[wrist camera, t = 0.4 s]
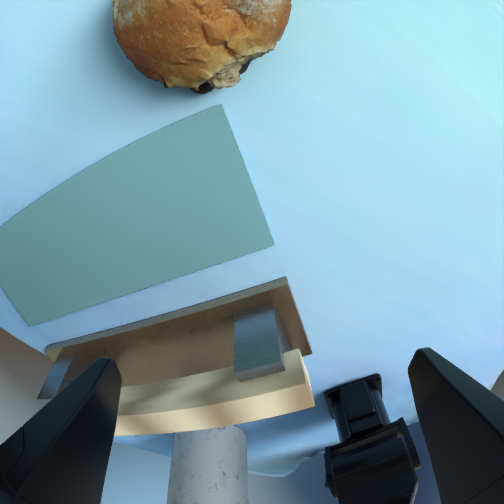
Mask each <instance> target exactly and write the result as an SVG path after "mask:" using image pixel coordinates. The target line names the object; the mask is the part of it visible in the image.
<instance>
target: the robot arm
mask: <svg viewBox="0 0 504 504" xmlns="http://www.w3.org/2000/svg"><path fill="white" fill-rule="evenodd" d="M408 375H409V379H410V384H411V388H412V392H413V397H414V402H415V407H416V411H417V415H418V418H419V421H420V424H421V428H422V431H423V435H424V438H425V441H426V445H427V448H428V452H429V456H430V459H431V463H432V467H433V471H434V475H435V478H436V483H437V487H438V491H439V496H440V500H441V504H504V401H503V400H502V399H501V398H499V397H498V396H496V395H495V394H493V393H492V392H491V391H490V390H488V389H487V388H486V387H484V386H483V385H481V384H480V383H479V382H477V381H476V380H474V379H473V378H472V377H470V376H469V375H468V374H466V373H465V372H463V371H462V370H461V369H459V368H458V367H456V366H455V365H454V364H452V363H451V362H449V361H448V360H447V359H445V358H444V357H442V356H441V355H439V354H438V353H437V352H435V351H434V350H432V349H431V348H429V347H426V348H420V349H418V350H416V352H415V354H414V356H413V358H412V360H411V362H410V365H409V367H408ZM121 385H122V377H121V374H120V372H119V369H118V367H117V365H116V362H115V360H114V359H113V358H109V357H100V358H98V359H97V360H96V361H95V362H93V363H92V364H91V365H90V366H89V367H88V368H87V369H85V370H84V371H83V372H82V373H81V374H80V375H79V376H78V377H76V378H75V379H74V380H73V381H72V382H71V383H70V384H68V385H67V386H66V387H65V388H64V389H63V390H62V391H61V392H59V393H58V394H57V395H56V396H55V397H54V398H53V399H52V400H50V401H49V402H48V403H47V404H46V405H45V406H44V407H43V408H42V409H41V410H39V411H38V412H37V413H36V414H35V415H34V416H33V417H32V418H31V419H29V421H27V422H26V423H25V424H24V425H23V427H20V428H19V429H18V430H17V431H16V432H15V433H14V434H13V435H12V436H10V437H9V438H8V439H7V440H6V441H5V442H4V443H2V444H1V445H0V504H100V503H101V497H102V491H103V486H104V480H105V475H106V470H107V465H108V460H109V456H110V451H111V446H112V442H113V438H114V433H115V429H116V423H117V415H118V407H119V399H120V392H121ZM324 397H325V400H326V403H327V406H328V409H329V412H330V415H331V418H332V419H335V423H336V427H337V431H338V435H339V439H340V443H339V444H336V445H333V446H328V447H325V454H324V457H325V469H326V475H325V487H326V488H327V489H330V491H331V493H332V494H333V496H334V498H336V499H337V498H338V500H339V504H413V502H414V499H415V495H416V492H417V489H418V479H417V476H416V472H415V470H416V469H419V468H421V464H420V461H419V457H418V454H417V451H416V448H415V446H414V443H413V441H412V438H411V436H410V433H409V431H408V429H407V426H406V424H405V421H404V419H403V417H401V418H399V419H398V420H397V421H395V422H392V423H390V420H389V417H388V414H387V412H386V409H385V406H384V404H383V401H382V383H381V376H380V374H375V375H373V376H370V377H367V378H364V379H362V380H359V381H356V382H353V383H350V384H347V385H344V386H341V387H338V388H335V389H331V390H328V391H326V392H325V393H324Z"/></svg>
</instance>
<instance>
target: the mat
mask: <svg viewBox="0 0 504 504" xmlns="http://www.w3.org/2000/svg"><path fill="white" fill-rule="evenodd" d="M271 246H274V241H273V238H272V236H271V233H270V230H269V227H268V225H267V222H266V219H265V217H264V214H263V211H262V208H261V206H260V203H259V200H258V198H257V195H256V192H255V190H254V187H253V184H252V182H251V179H250V176H249V174H248V171H247V169H246V166H245V163H244V161H243V158H242V155H241V153H240V150H239V148H238V145H237V142H236V140H235V137H234V135H233V132H232V130H231V127H230V124H229V122H228V119H227V117H226V114H225V112H224V109H223V107H222V104H220V105H217V106H215V107H212V108H210V109H207V110H204V111H202V112H199V113H197V114H195V115H192V116H190V117H187V118H185V119H183V120H180V121H178V122H176V123H174V124H171V125H169V126H167V127H165V128H163V129H160V130H158V131H156V132H154V133H152V134H150V135H148V136H146V137H144V138H142V139H139V140H137V141H135V142H134V143H132V144H130V145H128V146H126V147H124V148H122V149H120V150H118V151H116V152H114V153H112V154H111V155H109V156H107V157H105V158H103V159H102V160H100V161H98V162H96V163H95V164H93V165H91V166H89V167H88V168H86V169H84V170H83V171H81V172H79V173H78V174H76V175H74V176H73V177H71V178H69V179H68V180H66V181H65V182H63V183H62V184H60V185H58V186H57V187H55V188H54V189H52V190H51V191H49V192H48V193H46V194H45V195H43V196H42V197H40V198H39V199H37V200H36V201H35V202H33V203H32V204H30V205H29V206H28V207H26V208H25V209H23V210H22V211H21V212H19V213H18V214H17V215H15V216H14V217H13V218H11V219H10V220H9V221H7V222H6V223H5V224H4V225H2V226H1V227H0V286H1V287H2V289H3V291H4V292H5V294H6V295H7V297H8V298H9V299H10V301H11V302H12V304H13V305H14V307H15V308H16V310H17V311H18V312H19V314H20V315H21V316H22V318H23V319H24V320H25V322H26V323H27V324H28V326H29V327H31V326H34V325H37V324H40V323H43V322H46V321H49V320H52V319H55V318H58V317H61V316H64V315H67V314H70V313H73V312H76V311H79V310H82V309H85V308H88V307H91V306H94V305H97V304H100V303H103V302H106V301H109V300H112V299H115V298H118V297H121V296H124V295H127V294H130V293H133V292H136V291H139V290H142V289H145V288H148V287H151V286H154V285H157V284H160V283H163V282H166V281H169V280H172V279H175V278H178V277H181V276H184V275H187V274H190V273H193V272H196V271H199V270H202V269H205V268H208V267H211V266H214V265H217V264H220V263H223V262H226V261H229V260H232V259H235V258H238V257H241V256H244V255H247V254H250V253H253V252H256V251H259V250H262V249H265V248H268V247H271Z"/></svg>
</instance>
